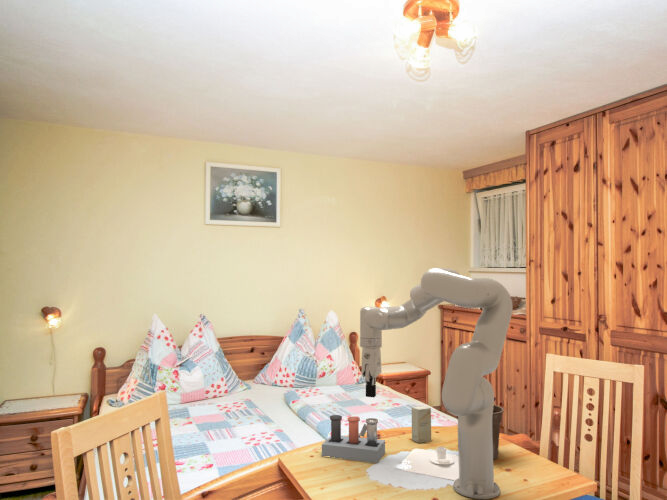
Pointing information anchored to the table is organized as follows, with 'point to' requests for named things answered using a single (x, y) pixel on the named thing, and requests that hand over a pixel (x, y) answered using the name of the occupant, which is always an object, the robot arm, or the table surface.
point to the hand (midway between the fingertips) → (370, 396)
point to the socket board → (354, 450)
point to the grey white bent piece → (363, 430)
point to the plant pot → (496, 428)
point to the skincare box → (421, 424)
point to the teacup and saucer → (434, 463)
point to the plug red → (353, 429)
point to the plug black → (335, 427)
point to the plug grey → (371, 431)
